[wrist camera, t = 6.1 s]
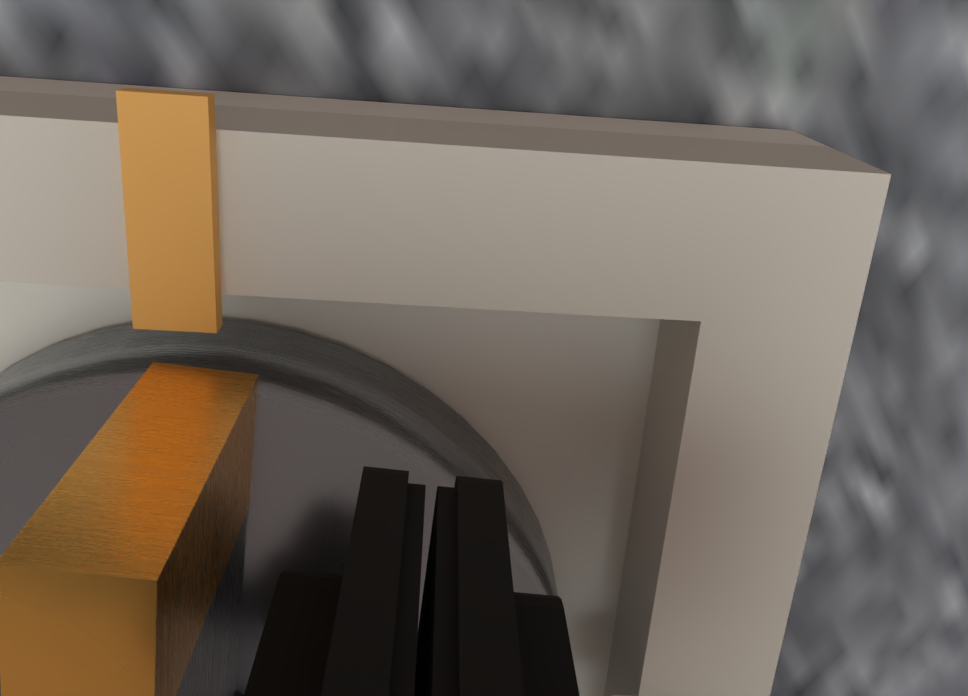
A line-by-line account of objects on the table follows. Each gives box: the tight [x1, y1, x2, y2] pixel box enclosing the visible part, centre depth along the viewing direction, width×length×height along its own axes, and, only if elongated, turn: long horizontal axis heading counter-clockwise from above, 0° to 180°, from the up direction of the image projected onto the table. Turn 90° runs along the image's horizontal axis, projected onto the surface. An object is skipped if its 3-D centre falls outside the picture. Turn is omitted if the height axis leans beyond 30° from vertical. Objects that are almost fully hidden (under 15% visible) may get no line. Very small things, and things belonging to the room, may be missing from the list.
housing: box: [0, 76, 891, 696], centre depth 15 cm, size 17×17×4 cm
